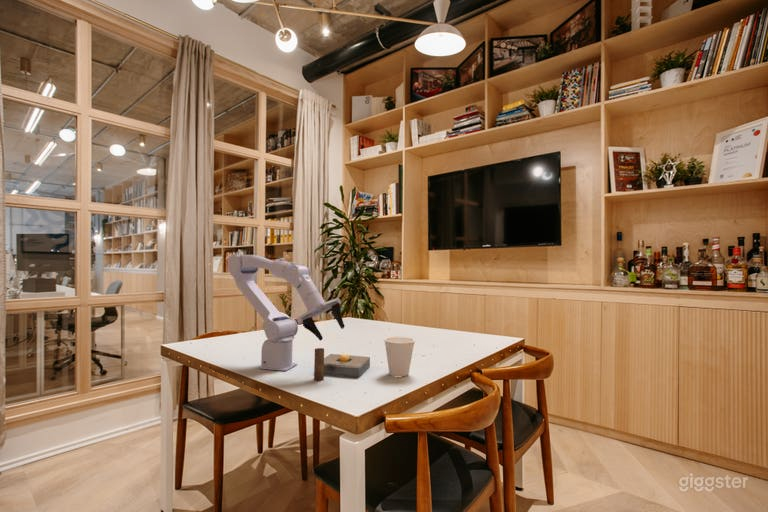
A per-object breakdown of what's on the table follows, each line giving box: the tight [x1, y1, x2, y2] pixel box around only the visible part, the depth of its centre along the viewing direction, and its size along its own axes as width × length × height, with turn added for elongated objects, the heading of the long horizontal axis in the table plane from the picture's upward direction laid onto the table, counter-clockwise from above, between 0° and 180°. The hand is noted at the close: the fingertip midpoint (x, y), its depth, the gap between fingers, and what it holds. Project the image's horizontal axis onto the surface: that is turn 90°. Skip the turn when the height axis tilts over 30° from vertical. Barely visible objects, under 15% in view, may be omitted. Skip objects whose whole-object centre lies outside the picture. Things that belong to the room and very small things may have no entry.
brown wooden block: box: [313, 347, 325, 382], centre depth 111 cm, size 3×3×9 cm
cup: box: [383, 336, 416, 377], centre depth 118 cm, size 10×10×11 cm
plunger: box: [339, 354, 349, 362], centre depth 121 cm, size 3×3×2 cm
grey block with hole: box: [324, 353, 371, 379], centre depth 121 cm, size 14×12×3 cm
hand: (332, 333), depth 114 cm, fingers open, 7 cm apart
